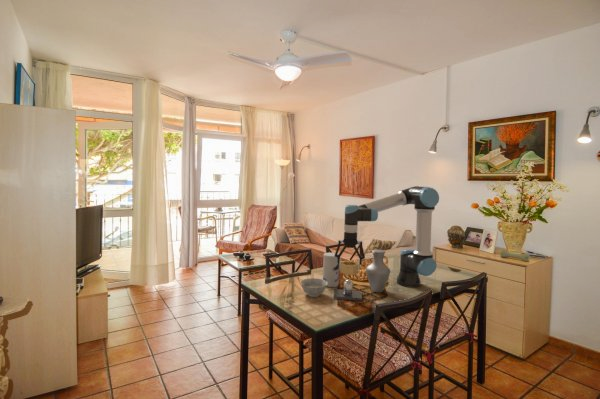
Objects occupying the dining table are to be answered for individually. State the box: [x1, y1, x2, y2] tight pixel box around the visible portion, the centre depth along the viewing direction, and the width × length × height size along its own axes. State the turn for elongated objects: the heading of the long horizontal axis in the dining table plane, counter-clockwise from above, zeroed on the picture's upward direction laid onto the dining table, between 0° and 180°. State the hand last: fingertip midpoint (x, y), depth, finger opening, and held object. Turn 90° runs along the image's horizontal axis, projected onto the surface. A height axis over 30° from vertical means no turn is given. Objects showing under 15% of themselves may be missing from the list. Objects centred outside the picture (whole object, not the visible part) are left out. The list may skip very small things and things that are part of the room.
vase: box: [365, 248, 391, 293], centre depth 202 cm, size 14×14×25 cm
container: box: [322, 252, 340, 288], centre depth 211 cm, size 10×10×20 cm
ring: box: [340, 260, 359, 275], centre depth 192 cm, size 10×10×5 cm
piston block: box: [333, 278, 363, 302], centre depth 193 cm, size 16×12×10 cm
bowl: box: [299, 277, 328, 298], centre depth 193 cm, size 16×16×8 cm
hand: (349, 269), depth 192 cm, fingers closed on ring, 10 cm apart
